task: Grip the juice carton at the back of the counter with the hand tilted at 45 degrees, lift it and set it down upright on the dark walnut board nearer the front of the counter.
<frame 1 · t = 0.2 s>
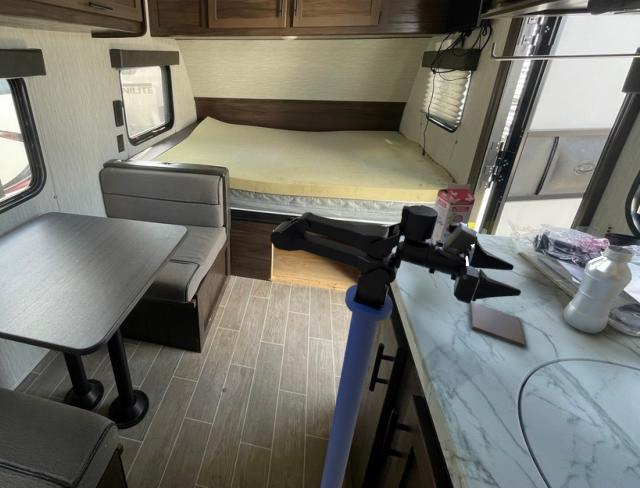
hand: (516, 279, 63), 15 cm above the counter, tool horizontal, fingers open, 9 cm apart
plastic bottle: (579, 326, 72), on the counter
juice carton: (440, 249, 101), on the counter
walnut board: (495, 324, 72), on the counter
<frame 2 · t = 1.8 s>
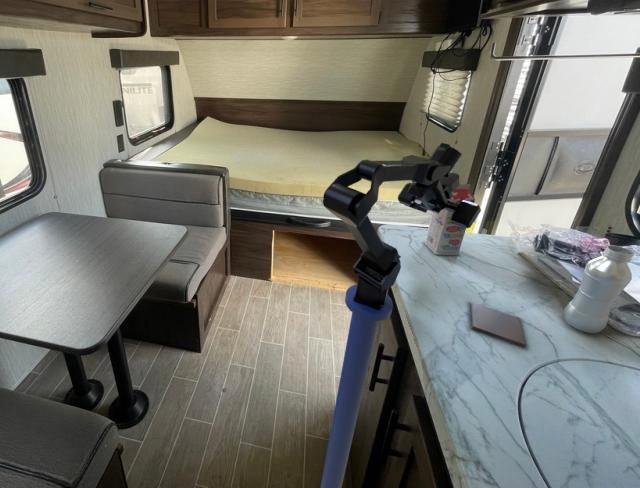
hand: (442, 217, 90), 14 cm above the counter, tool tilted 45°, fingers open, 9 cm apart
nothing on the counter moved.
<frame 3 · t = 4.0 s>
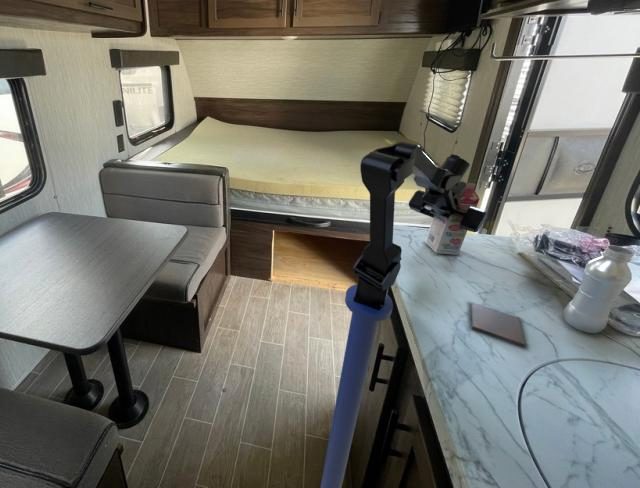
hand: (449, 222, 98), 9 cm above the counter, tool tilted 45°, fingers open, 9 cm apart
juice carton: (440, 248, 101), on the counter, touching gripper
everything else where it was.
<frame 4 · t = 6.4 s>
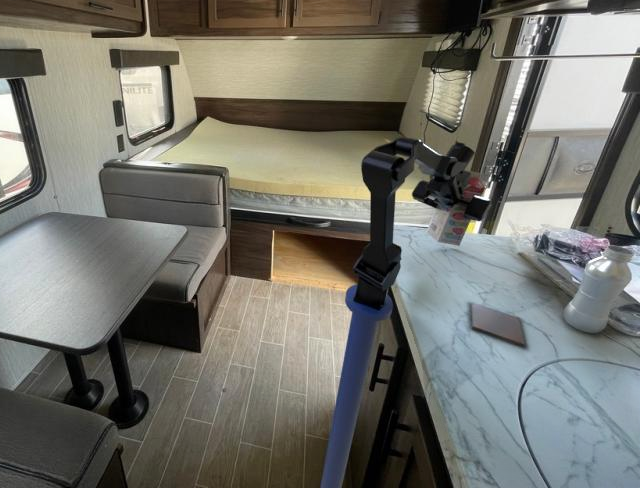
hand: (452, 212, 97), 12 cm above the counter, tool tilted 45°
juice carton: (442, 239, 99), point 4 cm above the counter, touching gripper
everything else where it was.
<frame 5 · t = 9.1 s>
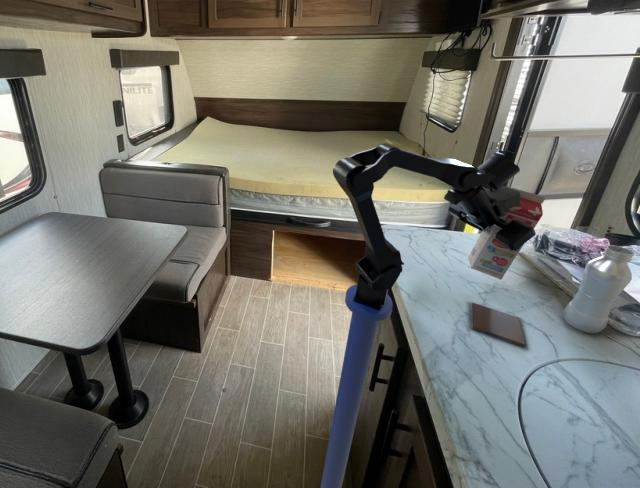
hand: (500, 239, 81), 13 cm above the counter, tool tilted 45°
juice carton: (483, 268, 84), point 4 cm above the counter, touching gripper
everything else where it was.
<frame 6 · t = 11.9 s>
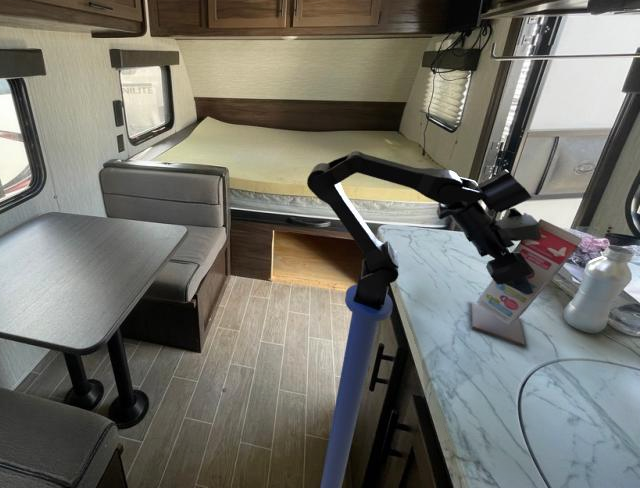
hand: (521, 279, 67), 13 cm above the counter, tool tilted 45°
juice carton: (497, 309, 71), point 4 cm above the counter, touching gripper
everything else where it was.
when the fingers open (11 cm above the counter, at t = 14.5 s): juice carton stays where it is, resting on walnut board.
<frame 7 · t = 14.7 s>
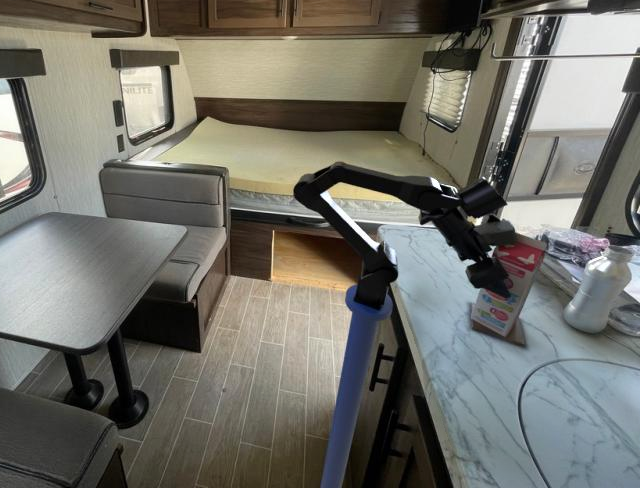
hand: (500, 283, 69), 11 cm above the counter, tool tilted 45°, fingers open, 9 cm apart
juice carton: (492, 320, 72), point 1 cm above the counter, touching gripper, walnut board
everything else where it was.
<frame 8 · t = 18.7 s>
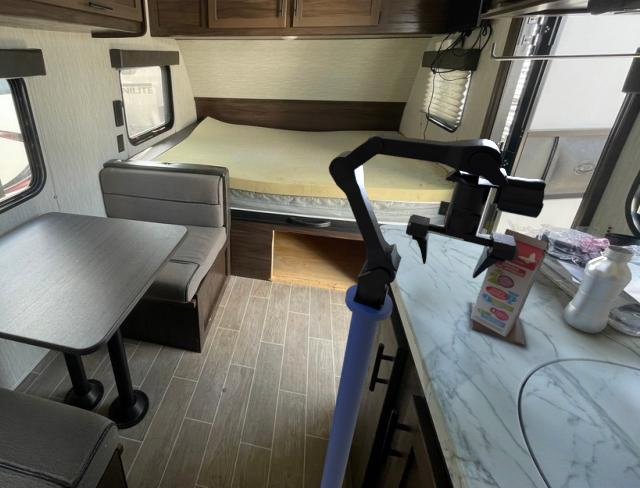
hand: (448, 269, 69), 13 cm above the counter, tool pointing down, fingers open, 9 cm apart
nothing on the counter moved.
at the end: juice carton inside the target area on the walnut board (0.7 cm from its centre), point 0.6 cm above the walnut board's base; juice carton tilted 0°; the gripper is holding nothing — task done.
